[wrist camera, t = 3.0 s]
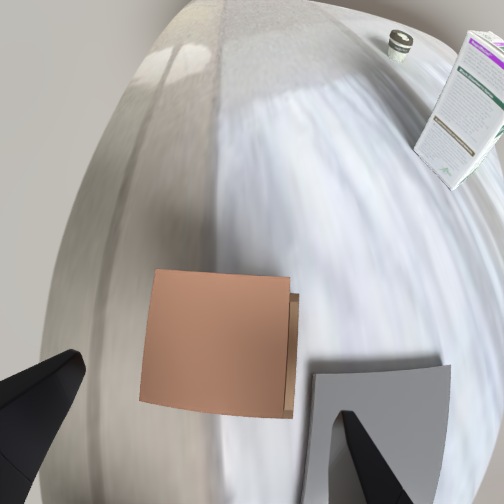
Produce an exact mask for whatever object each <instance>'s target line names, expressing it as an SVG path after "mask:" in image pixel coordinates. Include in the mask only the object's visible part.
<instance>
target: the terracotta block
mask: <svg viewBox="0 0 504 504" xmlns="http://www.w3.org/2000/svg"><path fill="white" fill-rule="evenodd" d="M289 295H290V277H274V276H256V275H239V274H223V273H207V272H193V271H179V270H165V269H156V270H155V276H154V282H153V288H152V294H151V300H150V307H149V314H148V321H147V329H146V336H145V345H144V354H143V363H142V373H141V384H140V397H139V401H142V402H146V403H151V404H156V405H161V406H167V407H172V408H178V409H184V410H191V411H198V412H205V413H213V414H222V415H232V416H244V417H258V418H281V419H282V418H283V405H284V391H285V376H286V359H287V341H288V320H289Z"/></svg>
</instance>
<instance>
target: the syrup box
mask: <svg viewBox="0 0 504 504" xmlns="http://www.w3.org/2000/svg"><path fill="white" fill-rule="evenodd" d="M503 133H504V40H503V39H501V38H500V37H498V36H496V35H495V34H493V33H492V32H491V31H488V32H482V31H467V35H466V37H465V40H464V42H463V45H462V47H461V50H460V52H459V54H458V57H457V59H456V61H455V64H454V66H453V68H452V71H451V73H450V75H449V77H448V79H447V82H446V84H445V86H444V88H443V90H442V92H441V94H440V97H439V99H438V101H437V103H436V105H435V107H434V109H433V111H432V113H431V115H430V117H429V119H428V121H427V123H426V125H425V127H424V129H423V131H422V133H421V135H420V137H419V139H418V141H417V142H416V144H415V146H414V151H415V152H416V153H417V154H418V155H419V157H420V158H421V159H422V160H423V161H424V162H425V163H426V164H427V165H428V166H429V167H430V168H431V169H432V171H434V173H435V174H436V175H437V176H438V177H439V178H440V179H441V180H442V181H443V182H444V183H445V184H446V185H447V187H448V188H449V189H450V190H451V191H453V190H454V189H455V188H457V187H458V186H459V185H460V184H461V183H463V182H464V181H465V180H466V179H467V178H468V177H469V176H470V175H471V174H472V173H473V172H474V171H475V170H476V169H477V167H478V166H479V165H480V163H481V162H482V161H483V160H484V158H485V157H486V156H487V154H488V153H489V152H490V150H491V149H492V148H493V146H494V145H495V144H496V142H497V141H498V139H499V138H500V137H501V135H502V134H503Z"/></svg>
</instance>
